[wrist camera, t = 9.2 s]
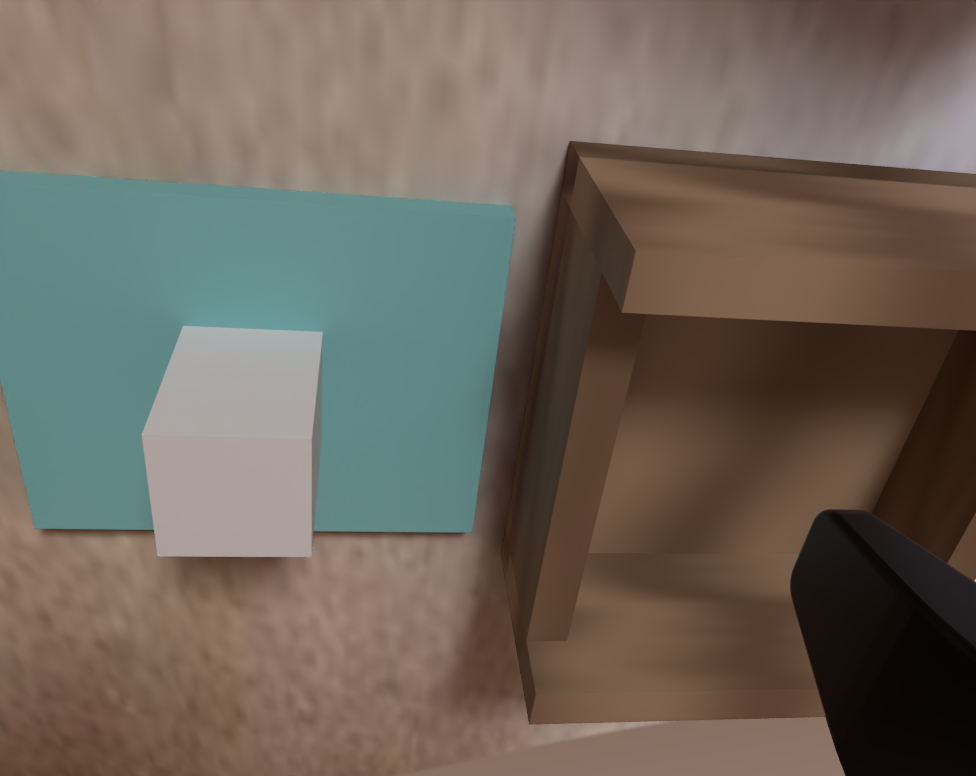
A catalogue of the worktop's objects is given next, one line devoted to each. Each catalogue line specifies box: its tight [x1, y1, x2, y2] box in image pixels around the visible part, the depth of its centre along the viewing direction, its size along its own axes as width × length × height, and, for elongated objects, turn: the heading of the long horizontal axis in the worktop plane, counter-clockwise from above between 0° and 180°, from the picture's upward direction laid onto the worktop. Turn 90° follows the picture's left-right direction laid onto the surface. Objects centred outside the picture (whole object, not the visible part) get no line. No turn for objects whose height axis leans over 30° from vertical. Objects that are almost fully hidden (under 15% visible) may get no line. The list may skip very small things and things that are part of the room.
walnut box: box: [501, 141, 976, 724], centre depth 20 cm, size 11×12×6 cm
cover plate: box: [0, 170, 516, 557], centre depth 19 cm, size 11×9×5 cm
